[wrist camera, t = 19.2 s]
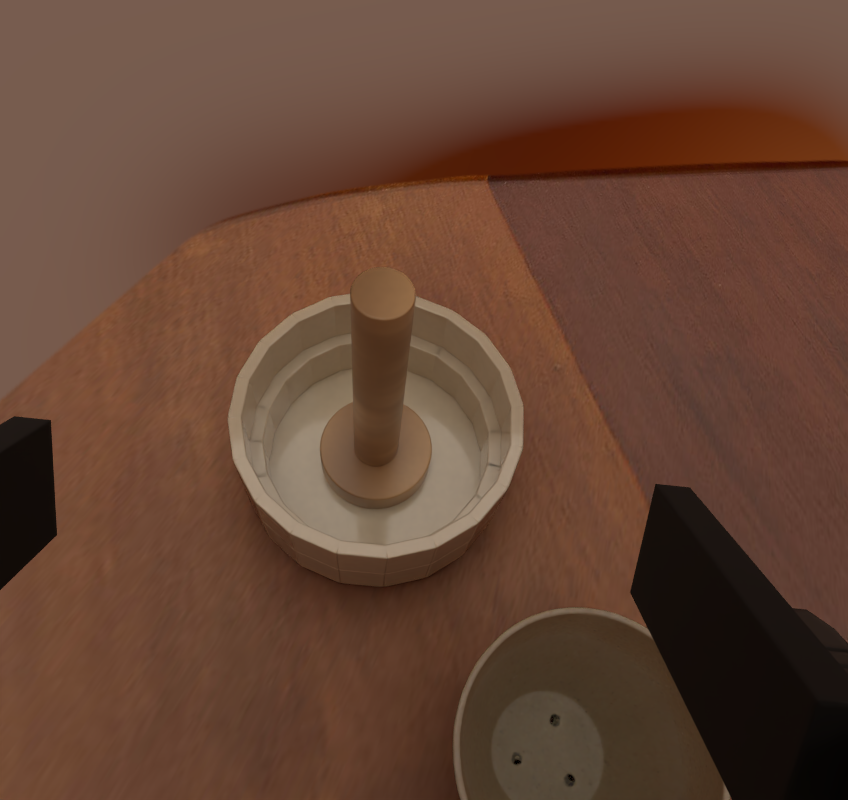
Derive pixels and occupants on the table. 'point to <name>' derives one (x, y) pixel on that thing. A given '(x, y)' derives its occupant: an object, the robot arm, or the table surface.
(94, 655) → the table surface
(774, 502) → the table surface
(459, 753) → the flower pot
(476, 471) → the bowl
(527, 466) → the table surface
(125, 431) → the table surface
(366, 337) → the masher
